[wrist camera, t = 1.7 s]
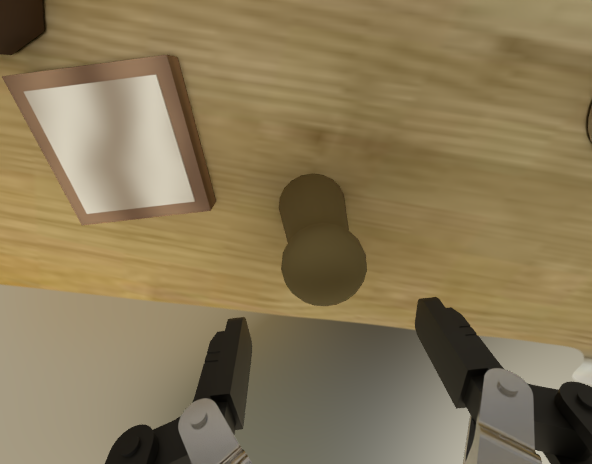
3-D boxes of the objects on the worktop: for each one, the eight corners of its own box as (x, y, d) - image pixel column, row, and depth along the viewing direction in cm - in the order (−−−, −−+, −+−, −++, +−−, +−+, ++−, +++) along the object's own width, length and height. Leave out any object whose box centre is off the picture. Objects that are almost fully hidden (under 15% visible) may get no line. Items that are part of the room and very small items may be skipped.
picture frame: (177, 57, 20) (165, 54, 18) (216, 201, 25) (210, 211, 23) (26, 76, 20) (-1, 76, 18) (96, 215, 25) (80, 226, 23)
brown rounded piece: (266, 214, 26) (253, 295, 16) (303, 160, 23) (315, 215, 14) (318, 245, 27) (336, 335, 18) (358, 197, 25) (403, 270, 15)
